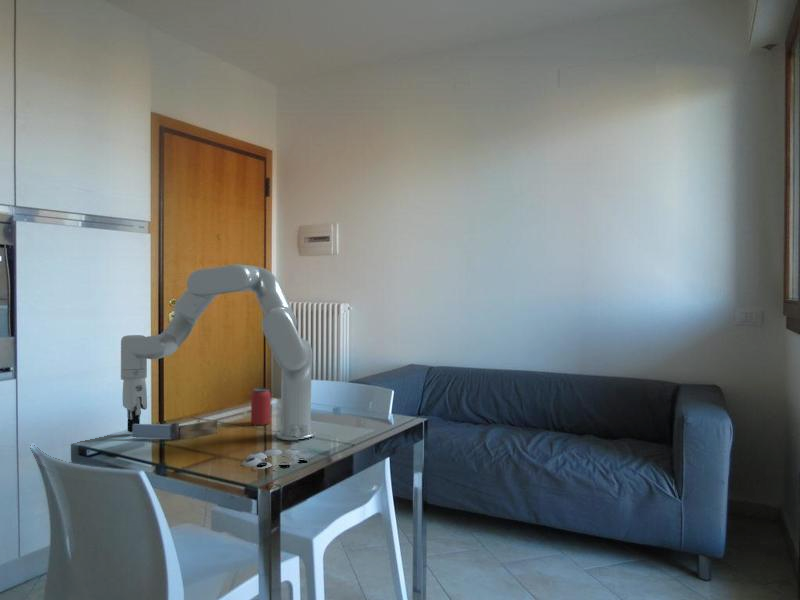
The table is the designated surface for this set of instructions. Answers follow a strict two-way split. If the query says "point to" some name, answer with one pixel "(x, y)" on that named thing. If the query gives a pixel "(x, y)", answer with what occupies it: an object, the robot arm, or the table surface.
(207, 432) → the hinge frame
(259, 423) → the beer can
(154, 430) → the hinged leaf
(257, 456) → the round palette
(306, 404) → the robot arm
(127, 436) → the table surface
